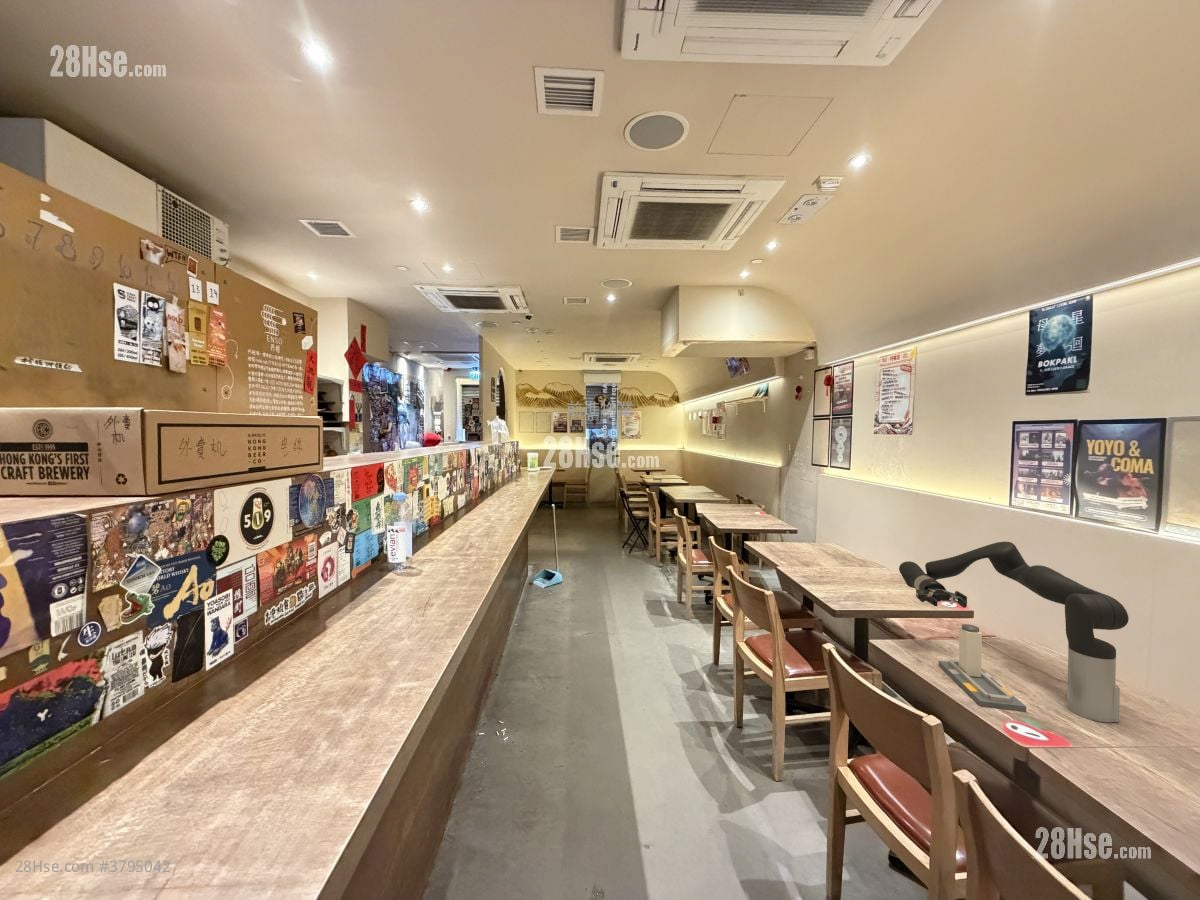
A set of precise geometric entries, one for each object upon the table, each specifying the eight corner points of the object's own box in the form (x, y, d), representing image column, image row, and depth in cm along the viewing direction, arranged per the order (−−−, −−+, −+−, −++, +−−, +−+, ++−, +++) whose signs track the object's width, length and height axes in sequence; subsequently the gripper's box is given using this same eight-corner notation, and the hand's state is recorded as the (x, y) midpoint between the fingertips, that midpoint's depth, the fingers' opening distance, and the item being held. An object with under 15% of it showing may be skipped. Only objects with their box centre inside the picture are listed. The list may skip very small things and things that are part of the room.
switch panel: (938, 664, 159) (938, 656, 159) (976, 668, 157) (976, 660, 157) (980, 706, 134) (980, 697, 134) (1026, 711, 131) (1026, 702, 131)
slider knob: (957, 668, 153) (958, 623, 153) (973, 669, 152) (974, 624, 152) (965, 675, 148) (966, 629, 148) (982, 677, 147) (982, 630, 147)
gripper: (951, 599, 175) (974, 616, 159) (908, 597, 178) (926, 613, 163) (951, 579, 174) (974, 594, 159) (908, 577, 178) (926, 592, 162)
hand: (950, 604), depth 161 cm, fingers open, 8 cm apart
